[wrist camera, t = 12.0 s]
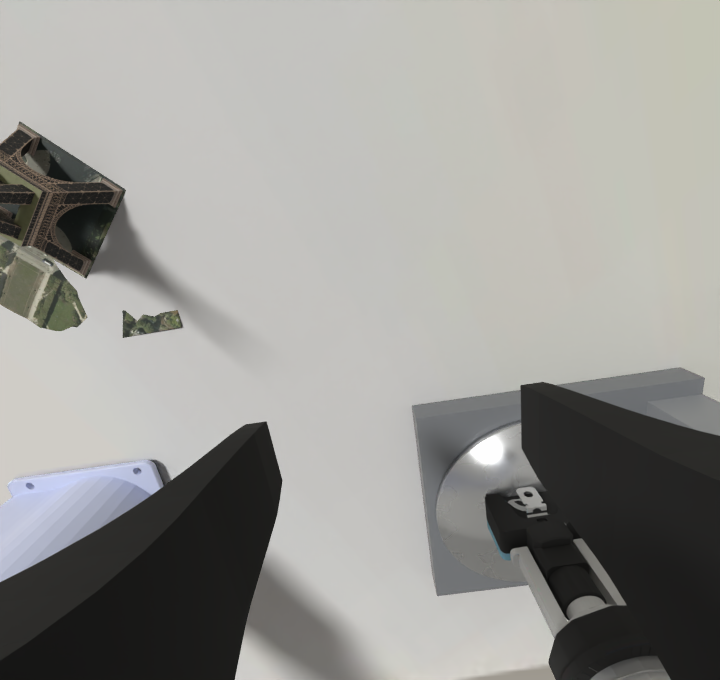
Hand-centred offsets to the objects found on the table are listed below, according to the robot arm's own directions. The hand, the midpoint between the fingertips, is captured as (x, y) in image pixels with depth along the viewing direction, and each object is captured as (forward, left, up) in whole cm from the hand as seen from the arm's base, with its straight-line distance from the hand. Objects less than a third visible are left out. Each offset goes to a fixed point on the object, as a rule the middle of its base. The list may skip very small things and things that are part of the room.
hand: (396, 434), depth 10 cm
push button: (+8, -12, -9) cm, 16 cm away
